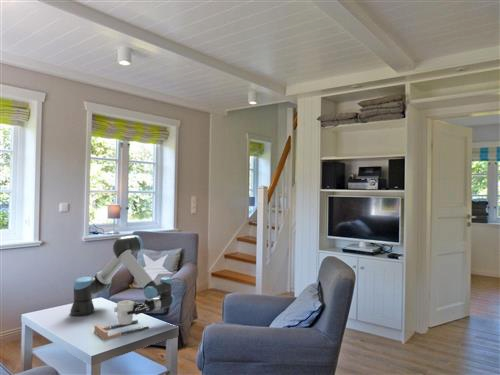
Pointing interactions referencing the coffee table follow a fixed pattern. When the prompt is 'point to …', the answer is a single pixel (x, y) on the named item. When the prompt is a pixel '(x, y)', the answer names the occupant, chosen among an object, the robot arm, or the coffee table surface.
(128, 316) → the candle holder
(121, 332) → the guide rails
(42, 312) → the coffee table surface
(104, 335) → the orange u-shaped bracket
